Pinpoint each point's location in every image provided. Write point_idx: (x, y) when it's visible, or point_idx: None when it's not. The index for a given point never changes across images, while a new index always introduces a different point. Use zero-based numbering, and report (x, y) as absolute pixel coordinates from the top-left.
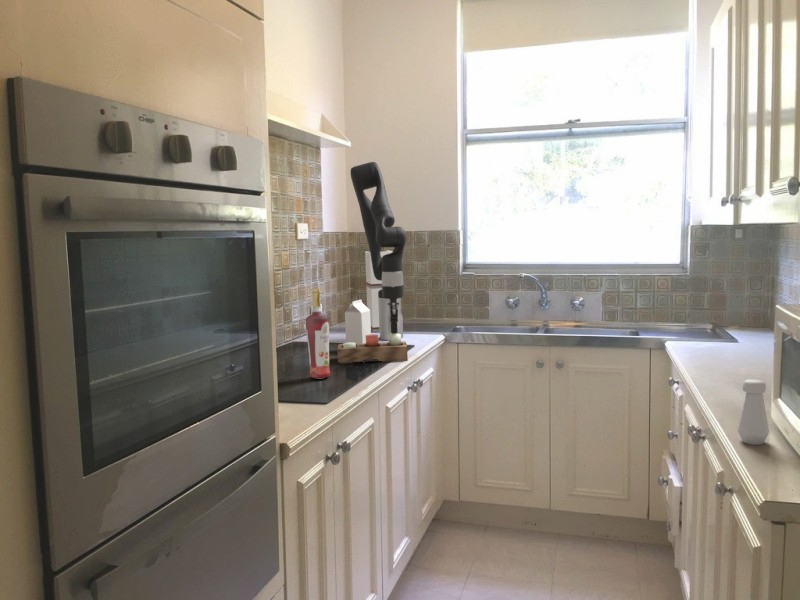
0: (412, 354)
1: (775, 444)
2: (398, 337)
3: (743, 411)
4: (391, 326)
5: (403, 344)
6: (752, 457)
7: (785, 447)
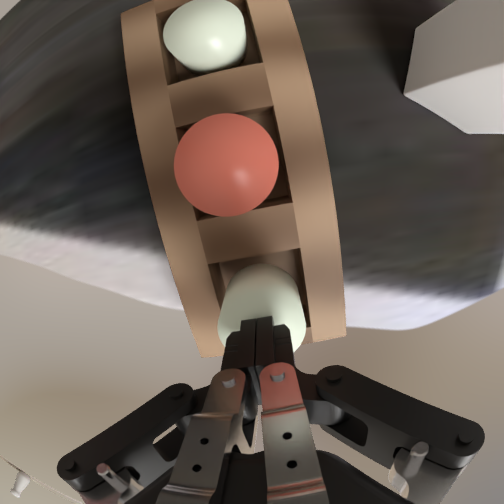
0: None
1: None
2: None
3: (16, 481)
4: (238, 353)
5: None
6: (6, 460)
7: None
